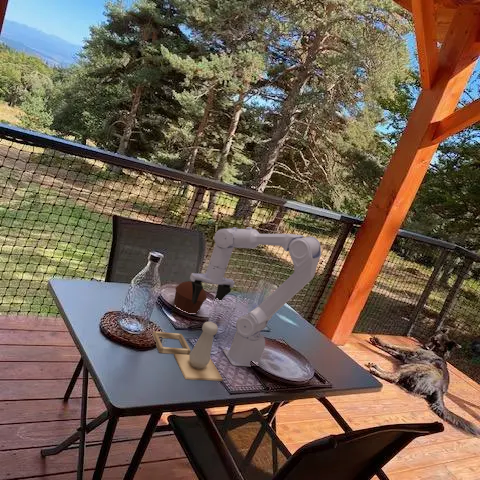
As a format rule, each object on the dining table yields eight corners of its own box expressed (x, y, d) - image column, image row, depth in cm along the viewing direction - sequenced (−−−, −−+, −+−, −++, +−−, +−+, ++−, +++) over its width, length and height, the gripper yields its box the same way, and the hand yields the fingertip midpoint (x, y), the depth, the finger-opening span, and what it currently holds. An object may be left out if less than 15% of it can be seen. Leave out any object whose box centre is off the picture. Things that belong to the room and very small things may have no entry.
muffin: (164, 301, 162) (172, 276, 160) (188, 301, 170) (196, 276, 168) (182, 318, 154) (191, 292, 152) (207, 317, 162) (216, 291, 160)
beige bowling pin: (205, 373, 125) (220, 332, 122) (185, 366, 125) (199, 324, 122) (208, 363, 131) (222, 323, 128) (189, 356, 131) (203, 316, 128)
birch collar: (180, 338, 141) (181, 333, 140) (189, 355, 133) (190, 350, 132) (151, 335, 136) (153, 331, 136) (159, 352, 128) (160, 348, 128)
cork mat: (208, 358, 135) (209, 356, 135) (222, 380, 126) (222, 378, 125) (173, 355, 130) (174, 353, 129) (185, 379, 120) (185, 377, 120)
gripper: (233, 263, 149) (220, 300, 152) (192, 256, 142) (179, 295, 145) (241, 272, 143) (228, 310, 146) (200, 265, 136) (186, 305, 139)
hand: (204, 303), depth 145 cm, fingers open, 7 cm apart
